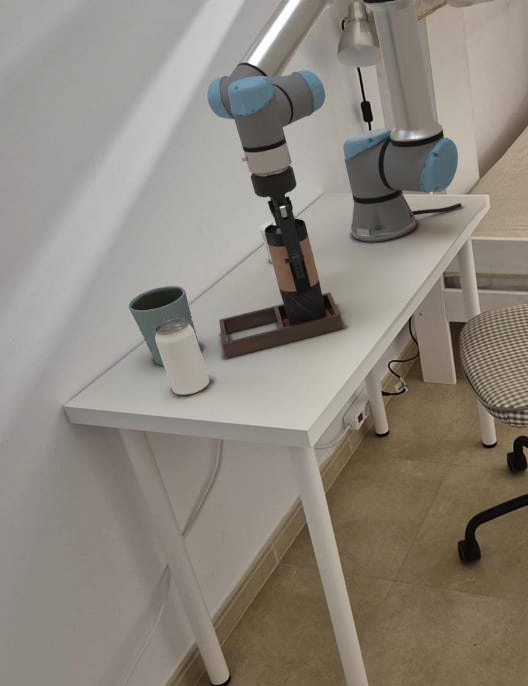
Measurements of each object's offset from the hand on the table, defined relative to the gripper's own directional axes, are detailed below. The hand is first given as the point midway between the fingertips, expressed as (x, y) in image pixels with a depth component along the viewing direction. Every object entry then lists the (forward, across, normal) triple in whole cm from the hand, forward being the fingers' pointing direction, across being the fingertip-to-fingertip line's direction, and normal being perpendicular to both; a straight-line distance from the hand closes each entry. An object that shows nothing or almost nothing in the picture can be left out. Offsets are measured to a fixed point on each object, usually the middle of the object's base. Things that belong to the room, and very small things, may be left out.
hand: (299, 278), depth 164 cm
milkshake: (+10, -37, -2) cm, 38 cm away
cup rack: (+10, 0, -6) cm, 11 cm away
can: (+9, +13, -23) cm, 28 cm away
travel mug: (+10, 0, 0) cm, 10 cm away
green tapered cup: (+9, -1, -26) cm, 27 cm away
